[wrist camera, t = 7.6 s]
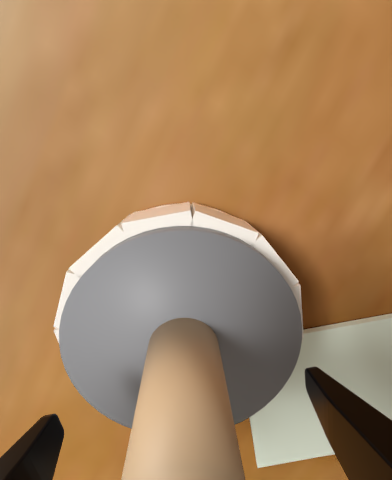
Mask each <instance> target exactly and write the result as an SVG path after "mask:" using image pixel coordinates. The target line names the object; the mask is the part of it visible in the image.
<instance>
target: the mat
mask: <svg viewBox="0 0 392 480" xmlns="http://www.w3.org/2000/svg"><path fill="white" fill-rule="evenodd" d="M303 335H304V337H303V338H302V340H303V341H302V343H301V349H300V354H299V357H298V360H297V363H296V366H295V368H294V370H293V372H292V374H291V376H290V378H289V379H288V381H287V382H286V384H285V385H284V387H283V388H282V389H281V391H280V392H279V393H278V394H277V395H276V396H275V398H274V399H272V400H271V401H270V402H269V403H268V404H267V405H266V406H265V407H263V408H262V409H261V410H259V411H258V412H257V413H255V414H254V415H252V416H251V417H249V418H250V424H251V431H252V437H253V444H254V450H255V457H256V463H257V467H258V468H260V467H266V466H271V465H277V464H282V463H288V462H293V461H299V460H305V459H310V458H316V457H321V456H327V455H332V454H335V453H334V451H333V449H332V447H331V446H330V444H329V442H328V439H327V437H326V435H325V433H324V430H323V428H322V426H321V423H320V421H319V419H318V416H317V414H316V412H315V409H314V407H313V405H312V403H311V400H310V398H309V396H308V393H307V390H306V386H305V369H306V368H309V367H318V368H320V369H321V370H322V371H324V372H325V373H327V374H328V375H329V376H331V377H332V378H334V379H335V380H336V381H338V382H339V383H340V384H342V385H343V386H345V387H346V388H347V389H349V390H350V391H352V392H353V393H354V394H356V395H357V396H359V397H360V398H361V399H363V400H364V401H366V402H367V403H368V404H370V405H371V406H373V407H374V408H375V409H377V410H378V411H380V412H381V413H382V414H384V415H385V416H387V417H388V418H389V419H391V420H392V313H391V314H386V315H380V316H375V317H369V318H364V319H358V320H353V321H348V322H342V323H337V324H331V325H326V326H320V327H315V328H309V329H304V330H303Z"/></svg>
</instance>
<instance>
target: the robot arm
mask: <svg viewBox="0 0 392 480" xmlns="http://www.w3.org/2000/svg"><path fill="white" fill-rule="evenodd" d="M305 386H306V390H307V393H308V396H309V398H310V400H311V403H312V405H313V407H314V409H315V412H316V414H317V416H318V419H319V421H320V423H321V426H322V428H323V430H324V433H325V435H326V437H327V439H328V442H329V444H330V446H331V447H332V449H333V451H334V453H335V455H336V457H337V459H338V461H339V462H340V464H341V466H342V468H343V470H344V472H345V473H346V475H347V477H348V479H349V480H392V420H391V419H389V418H388V417H387V416H385V415H384V414H382V413H381V412H380V411H378V410H377V409H375V408H374V407H373V406H371V405H370V404H368V403H367V402H366V401H364V400H363V399H361V398H360V397H359V396H357V395H356V394H354V393H353V392H352V391H350V390H349V389H347V388H346V387H345V386H343V385H342V384H340V383H339V382H338V381H336V380H335V379H334V378H332V377H331V376H329V375H328V374H327V373H325V372H324V371H322V370H321V369H320V368H318V367H309V368H306V369H305ZM63 438H64V429H63V427H62V425H61V422H60V420H59V418H58V416H57V415H56V414H50V415H45V416H43V417H42V418H40V419H39V420H38V421H37V422H36V423H35V424H34V425H33V426H32V427H31V428H30V429H29V430H28V431H27V432H26V433H25V434H24V435H23V436H22V437H21V438H20V439H19V440H18V441H17V442H16V443H15V444H14V445H13V446H12V447H11V448H10V449H9V450H8V451H7V452H6V453H5V454H4V455H3V456H2V457H1V458H0V480H52V479H53V476H54V472H55V468H56V464H57V461H58V457H59V453H60V449H61V446H62V442H63Z"/></svg>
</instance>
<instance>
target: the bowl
mask: <svg viewBox="0 0 392 480" xmlns="http://www.w3.org/2000/svg"><path fill="white" fill-rule="evenodd" d="M171 226H196V227H204V228H210V229H214V230H217V231H221V232H225V233H227V234H229V235H232V236H234V237H237V238H239V239H241V240H242V241H244V242H246V243H247V244H249V245H251V246H252V247H254V248H255V249H256V250H257V251H259V252H260V253H261V254H263V255H264V256H265V257H266V258H267V259H268V261H269V262H270V263H271V264H272V265H273V266H274V267H275V268H276V269H277V270H278V271H279V272H280V274H281V275H282V276H283V277H284V279H285V280H286V282H287V283H288V285H289V286H290V288H291V290H292V292H293V294H294V296H295V298H296V300H297V303H298V307H299V310H300V313H301V320H302V338H303V337H304V335H303V318H302V302H301V285H300V284H299V283H298V282H299V281H298V280H297V278H296V277H295V276H294V275H293V273H292V272H291V271H290V269H289V268H288V267H287V266H286V264H285V263H284V262H283V261H282V259H281V258H280V257H279V256H278V254H277V253H276V252H275V251H274V249H273V248H272V247H271V245H270V244H269V243H268V242H267V240H266V239H265V238H264V237H263V235H261V234H260V233H259V232H258V231H257V230H256V229H254V228H253V227H252V226H251V225H250V224H249V223H247V222H246V221H245V220H242V219H239V218H236V217H234V216H232V215H230V214H228V213H225V212H223V211H221V210H218V209H215V208H212V207H208V206H205V205H200V204H197V203H194V202H193V204H192V203H189V202H185V203H173V204H165V205H160V206H156V207H152V208H148V209H146V210H142V211H137V212H133V213H132V214H129V215H128V216H127V217H126V218H125V219H124V220H122V221H121V222H120V223H119V224H118V225H117V226H116V227H114V228H113V229H112V230H111V231H110V232H109V233H108V234H107V235H105V236H104V237H103V238H102V239H101V240H100V241H99V242H98V243H96V244H95V245H94V246H93V247H92V248H91V249H90V250H89V251H87V252H86V253H85V254H84V255H83V256H82V257H81V258H80V259H79V260H77V261H76V262H75V263H74V264H73V265H72V266H71V267H70V268H69V270H68V271H67V272H66V276H65V280H64V284H63V289H62V293H61V297H60V301H59V305H58V310H57V314H56V318H55V322H54V327H56V328H55V330H54V332H55V335H56V337H57V340H58V342H59V327H60V320H61V315H62V312H63V309H64V306H65V303H66V300H67V298H68V297H69V295H70V293H71V291H72V289H73V287H74V286H75V285H76V283H77V282H78V280H79V279H80V278H81V276H82V275H83V274H84V273H85V272H86V271H87V270H88V269H89V268H90V267H91V266H92V265H93V264H94V262H95V261H96V260H97V259H98V258H99V257H100V256H101V255H103V254H104V253H105V252H107V251H108V250H109V249H111V248H112V247H113V246H115V245H116V244H118V243H120V242H122V241H124V240H125V239H127V238H129V237H132V236H134V235H137V234H139V233H142V232H145V231H149V230H153V229H157V228H162V227H171ZM302 341H303V340H302Z"/></svg>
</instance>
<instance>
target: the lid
mask: <svg viewBox="0 0 392 480" xmlns="http://www.w3.org/2000/svg"><path fill="white" fill-rule="evenodd" d="M301 343H302V320H301V313H300V310H299V307H298V303H297V300H296V298H295V296H294V294H293V292H292V290H291V288H290V286H289V285H288V283H287V282H286V280H285V279H284V277H283V276H282V275H281V274H280V272H279V271H278V270H277V269H276V268H275V267H274V266H273V265H272V264H271V263H270V262H269V261H268V259H267V258H266V257H265V256H264V255H263V254H261V253H260V252H259V251H257V250H256V249H255V248H254V247H252V246H251V245H249V244H247V243H246V242H244V241H242V240H241V239H239V238H237V237H234V236H232V235H229V234H227V233H225V232H221V231H217V230H214V229H210V228H204V227H196V226H171V227H162V228H157V229H153V230H149V231H145V232H142V233H139V234H137V235H134V236H132V237H129V238H127V239H125V240H124V241H122V242H120V243H118V244H116V245H115V246H113V247H112V248H111V249H109V250H108V251H107V252H105V253H104V254H103V255H101V256H100V257H99V258H98V259H97V260H96V261H95V262H94V264H93V265H92V266H91V267H90V268H89V269H88V270H87V271H86V272H85V273H84V274H83V275H82V276H81V278H80V279H79V280H78V282H77V283H76V285H75V286H74V287H73V289H72V291H71V293H70V295H69V297H68V298H67V300H66V303H65V306H64V309H63V312H62V315H61V320H60V327H59V346H60V352H61V358H62V361H63V364H64V367H65V370H66V372H67V374H68V376H69V378H70V380H71V382H72V383H73V385H74V386H75V387H76V389H77V390H78V392H79V393H80V394H81V395H82V396H83V397H84V399H85V400H86V401H87V402H88V403H89V404H90V405H92V406H93V407H94V408H95V409H96V410H98V411H99V412H100V413H102V414H103V415H105V416H106V417H108V418H109V419H111V420H113V421H115V422H117V423H119V424H121V425H123V426H126V427H129V428H131V434H130V439H129V444H128V449H127V454H126V459H125V464H124V469H123V474H122V479H121V480H245V476H244V471H243V466H242V461H241V456H240V450H239V445H238V440H237V435H236V430H235V424H237V423H240V422H242V421H244V420H245V419H247V418H249V417H251V416H252V415H254V414H255V413H257V412H258V411H259V410H261V409H262V408H263V407H265V406H266V405H267V404H268V403H269V402H270V401H271V400H272V399H274V398H275V396H276V395H277V394H278V393H279V392H280V391H281V389H282V388H283V387H284V385H285V384H286V382H287V381H288V379H289V378H290V376H291V374H292V372H293V370H294V368H295V366H296V363H297V360H298V357H299V354H300V349H301Z"/></svg>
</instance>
